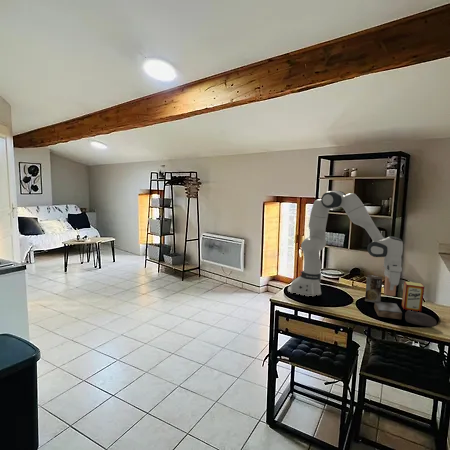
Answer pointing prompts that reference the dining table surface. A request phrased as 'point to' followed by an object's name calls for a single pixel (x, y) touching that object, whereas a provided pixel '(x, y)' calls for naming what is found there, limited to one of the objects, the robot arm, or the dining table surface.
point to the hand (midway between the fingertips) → (390, 288)
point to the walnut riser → (387, 310)
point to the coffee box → (373, 288)
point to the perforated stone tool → (419, 318)
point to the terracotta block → (386, 288)
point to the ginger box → (413, 296)
